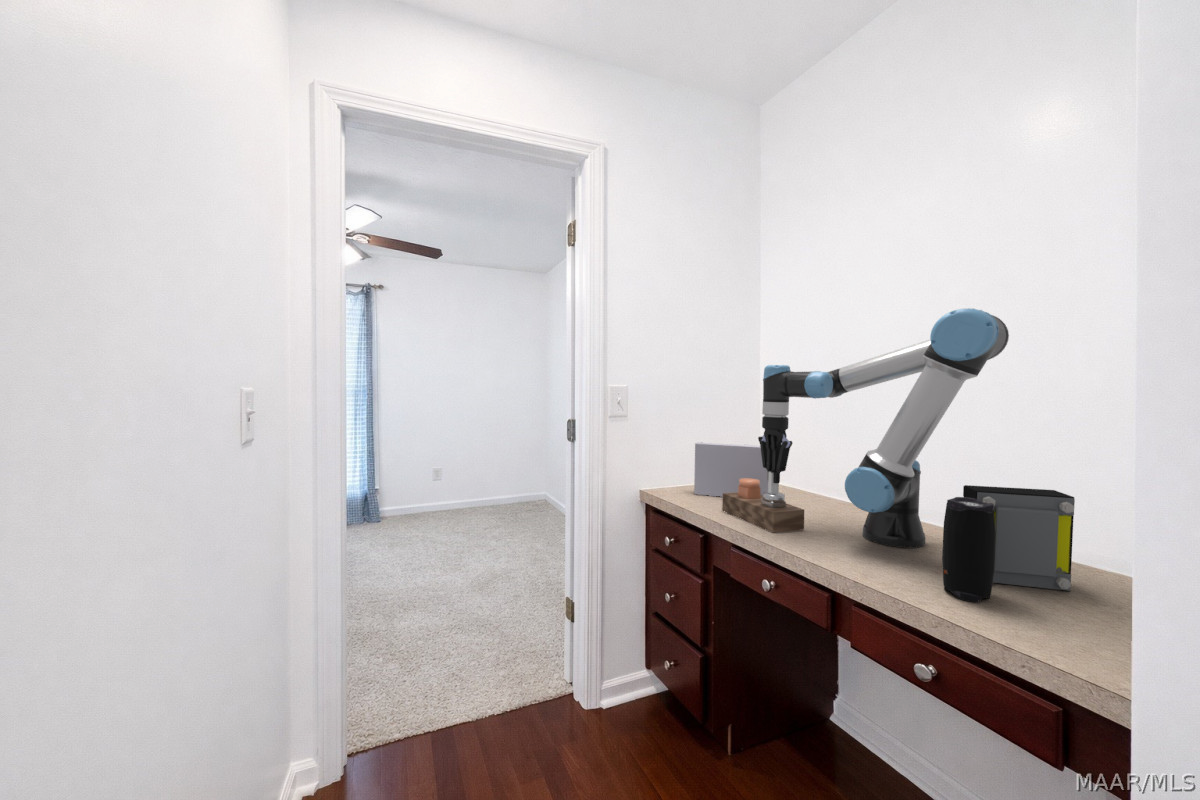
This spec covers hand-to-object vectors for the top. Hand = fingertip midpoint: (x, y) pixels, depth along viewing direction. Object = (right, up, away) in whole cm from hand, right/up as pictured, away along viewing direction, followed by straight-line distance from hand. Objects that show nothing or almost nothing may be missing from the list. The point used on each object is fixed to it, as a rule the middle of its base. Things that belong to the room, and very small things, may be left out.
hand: (773, 492), depth 151 cm
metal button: (0, -6, 0) cm, 6 cm away
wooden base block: (-2, -10, +6) cm, 11 cm away
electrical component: (+39, -12, -41) cm, 58 cm away
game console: (-3, -9, +38) cm, 39 cm away
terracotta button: (-4, -4, +11) cm, 13 cm away
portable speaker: (+23, -12, -49) cm, 55 cm away
